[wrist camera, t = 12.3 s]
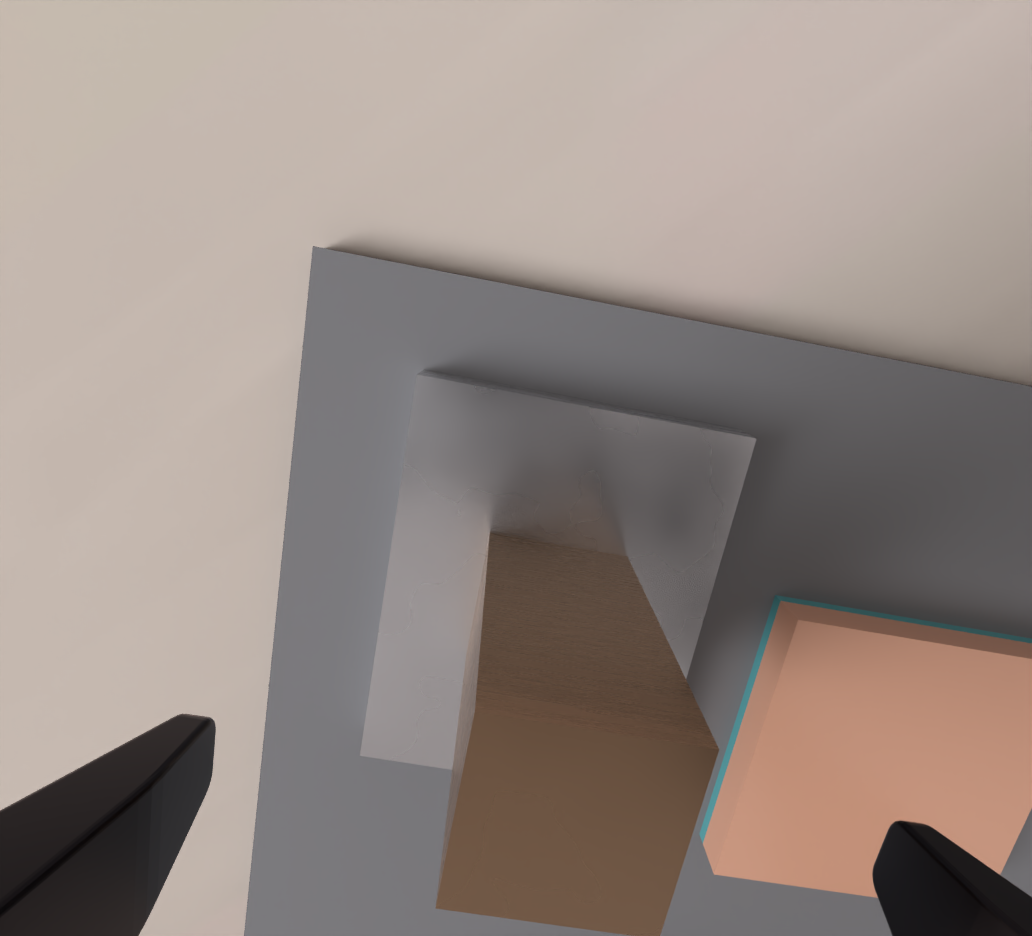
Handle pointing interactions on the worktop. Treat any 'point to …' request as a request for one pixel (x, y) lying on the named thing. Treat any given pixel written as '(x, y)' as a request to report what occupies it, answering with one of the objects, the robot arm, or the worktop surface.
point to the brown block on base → (554, 644)
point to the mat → (735, 595)
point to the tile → (870, 746)
